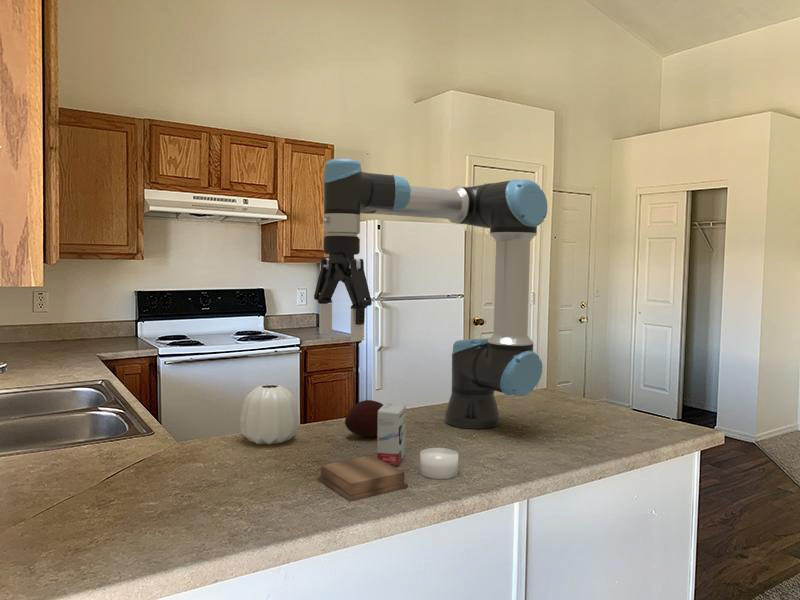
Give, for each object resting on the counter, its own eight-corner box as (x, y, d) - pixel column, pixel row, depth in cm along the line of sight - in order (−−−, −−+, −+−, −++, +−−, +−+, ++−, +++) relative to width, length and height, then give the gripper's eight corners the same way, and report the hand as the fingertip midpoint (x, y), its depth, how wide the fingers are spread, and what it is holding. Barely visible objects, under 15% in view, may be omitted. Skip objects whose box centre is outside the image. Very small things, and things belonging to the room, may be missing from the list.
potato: (396, 439, 152) (396, 402, 152) (349, 443, 148) (349, 405, 148) (384, 430, 161) (385, 395, 160) (340, 434, 156) (340, 398, 156)
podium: (372, 468, 131) (372, 454, 131) (407, 487, 120) (408, 472, 120) (317, 479, 124) (317, 465, 123) (350, 501, 113) (350, 485, 113)
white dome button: (441, 463, 135) (442, 445, 135) (465, 474, 128) (466, 455, 128) (412, 470, 130) (412, 451, 130) (435, 481, 124) (436, 462, 123)
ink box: (398, 467, 132) (398, 413, 131) (375, 465, 133) (376, 411, 132) (405, 454, 141) (406, 404, 140) (384, 453, 141) (385, 402, 141)
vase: (293, 430, 159) (293, 379, 158) (302, 446, 146) (302, 390, 145) (238, 434, 154) (238, 381, 154) (242, 451, 141) (242, 393, 140)
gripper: (299, 236, 136) (298, 331, 138) (356, 233, 116) (355, 345, 117) (329, 237, 140) (328, 329, 142) (390, 234, 120) (388, 342, 121)
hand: (340, 337), depth 129 cm, fingers open, 13 cm apart
